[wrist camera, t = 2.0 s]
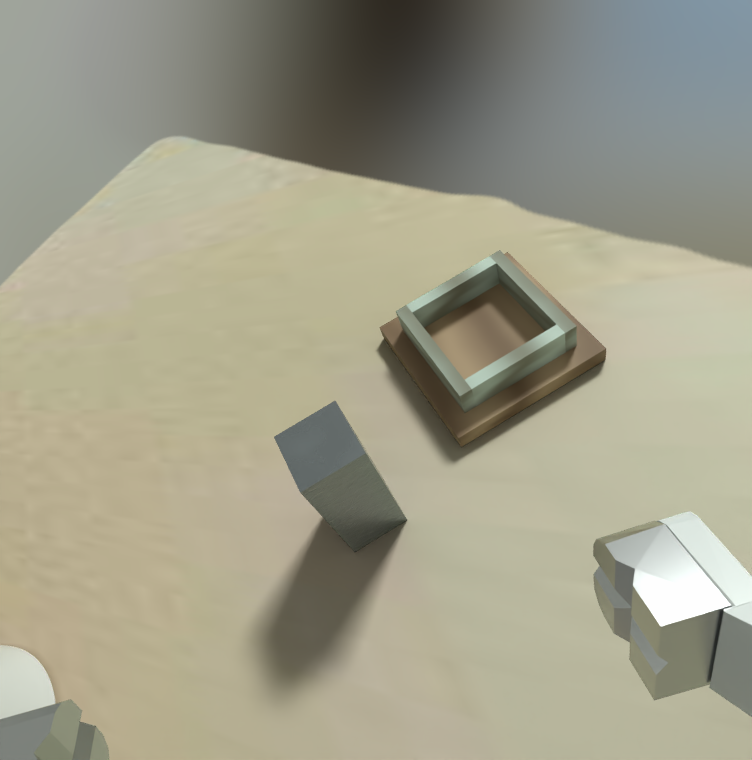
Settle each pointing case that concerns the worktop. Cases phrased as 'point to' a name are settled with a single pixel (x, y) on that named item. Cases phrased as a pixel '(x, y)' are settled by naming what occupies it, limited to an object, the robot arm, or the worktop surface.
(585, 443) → the worktop surface
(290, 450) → the graphite post
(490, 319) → the stand
